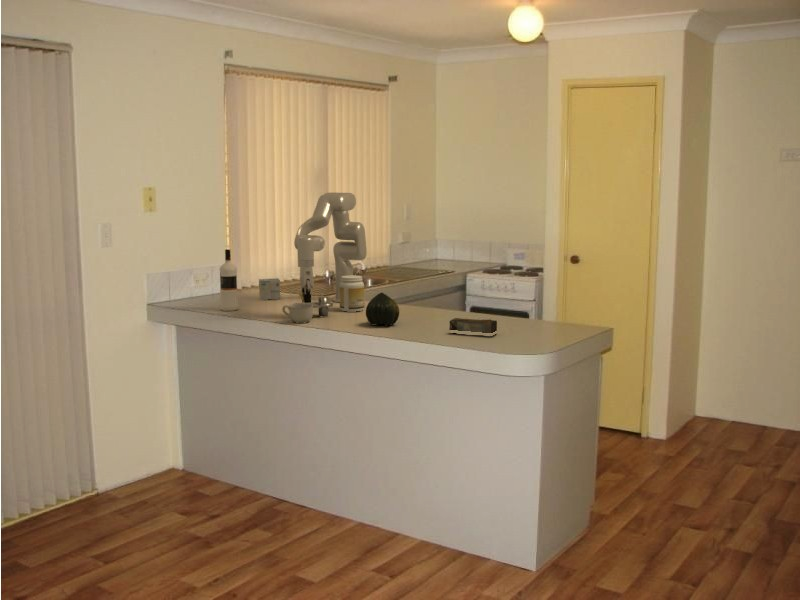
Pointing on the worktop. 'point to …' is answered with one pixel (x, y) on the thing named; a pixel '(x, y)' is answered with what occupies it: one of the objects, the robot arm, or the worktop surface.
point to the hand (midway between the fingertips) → (306, 301)
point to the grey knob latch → (322, 305)
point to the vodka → (228, 285)
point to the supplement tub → (351, 293)
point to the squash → (382, 310)
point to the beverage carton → (473, 325)
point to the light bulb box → (269, 289)
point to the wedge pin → (303, 296)
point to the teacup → (299, 312)
